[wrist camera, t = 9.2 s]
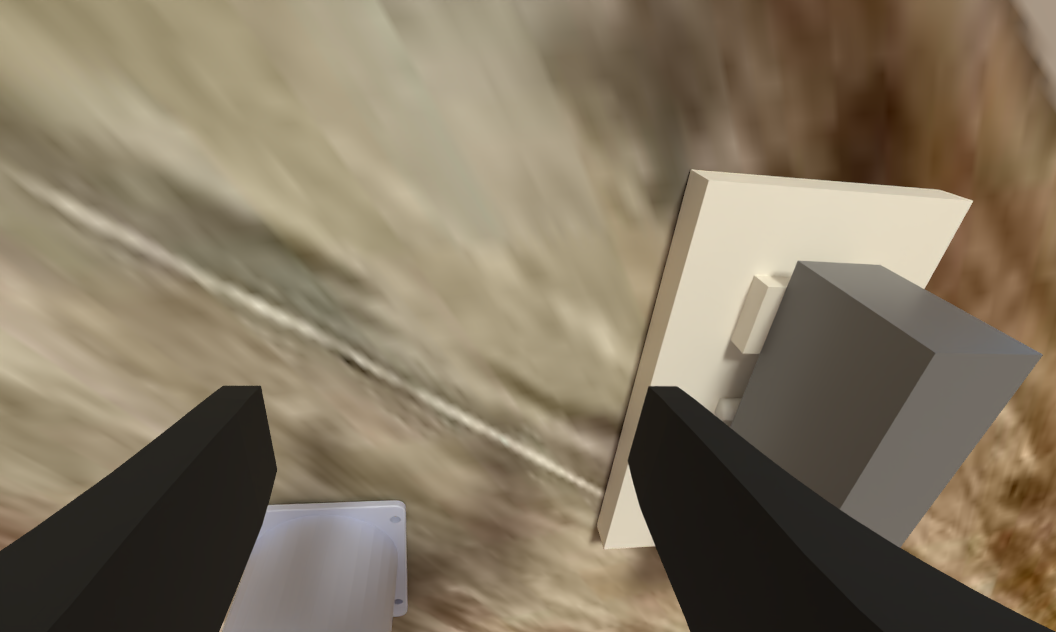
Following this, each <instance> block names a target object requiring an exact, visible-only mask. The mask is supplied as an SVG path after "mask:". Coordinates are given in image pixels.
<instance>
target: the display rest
mask: <svg viewBox="0 0 1056 632" xmlns="http://www.w3.org/2000/svg"><path fill="white" fill-rule="evenodd" d="M972 202H973V201H972V200H969V199H966V198H963V197H960V196H957V195H954V194H951V193H948V192H945V191H942V190H935V189H923V188H911V187H899V186H886V185H874V184H862V183H850V182H837V181H825V180H813V179H801V178H788V177H776V176H764V175H752V174H739V173H727V172H715V171H702V170H691V171H690V175H689V178H688V182H687V186H686V190H685V194H684V197H683V201H682V205H681V209H680V213H679V216H678V220H677V224H676V228H675V231H674V235H673V239H672V243H671V247H670V250H669V254H668V258H667V262H666V265H665V269H664V273H663V277H662V281H661V284H660V288H659V292H658V296H657V300H656V303H655V307H654V311H653V315H652V318H651V322H650V326H649V330H648V334H647V337H646V341H645V345H644V349H643V352H642V356H641V360H640V364H639V368H638V371H637V375H636V379H635V383H634V387H633V390H632V394H631V398H630V402H629V405H628V409H627V413H626V417H625V421H624V424H623V428H622V432H621V436H620V439H619V443H618V447H617V451H616V455H615V458H614V462H613V466H612V470H611V474H610V477H609V481H608V485H607V489H606V492H605V496H604V500H603V504H602V508H601V511H600V515H599V519H598V523H597V528H598V531H599V535H600V538H601V541H602V545H603V548H604V549H616V548H633V547H650V546H655V544H654V541H653V539H652V537H651V534H650V532H649V529H648V527H647V524H646V522H645V519H644V517H643V514H642V512H641V509H640V506H639V502H638V499H637V495H636V492H635V488H634V485H633V481H632V477H631V473H630V469H629V465H628V461H627V460H628V457H629V453H630V450H631V446H632V443H633V439H634V436H635V432H636V429H637V425H638V421H639V418H640V414H641V411H642V407H643V404H644V400H645V397H646V393H647V390H648V386H677V387H679V388H680V389H682V390H683V391H685V392H686V393H687V394H689V395H690V396H691V397H693V398H694V399H695V400H696V401H698V402H699V403H700V404H701V405H703V406H704V407H705V408H706V409H708V410H709V411H710V412H711V413H713V414H714V415H715V416H716V417H718V418H719V419H720V420H721V421H723V422H724V423H725V424H726V425H728V426H729V427H730V426H731V424H732V421H733V419H734V416H735V414H736V411H737V409H738V406H739V404H740V401H741V399H742V397H743V394H744V392H745V389H746V387H747V384H748V382H749V379H750V377H751V374H752V372H753V369H754V367H755V365H756V362H757V360H758V357H759V355H760V352H761V350H762V347H763V345H764V342H765V340H766V337H767V335H768V333H769V330H770V328H771V325H772V323H773V320H774V318H775V315H776V313H777V310H778V308H779V305H780V303H781V301H782V298H783V296H784V293H785V291H786V288H787V286H788V283H789V281H790V278H791V276H792V274H793V271H794V269H795V266H796V264H797V261H816V262H835V263H854V264H873V265H881V266H883V267H885V268H887V269H889V270H891V271H892V272H894V273H896V274H898V275H900V276H901V277H903V278H905V279H907V280H909V281H910V282H912V283H914V284H916V285H918V286H919V287H921V288H923V289H925V287H926V285H927V283H928V281H929V280H930V278H931V276H932V274H933V272H934V271H935V269H936V267H937V265H938V263H939V262H940V260H941V258H942V256H943V254H944V253H945V251H946V249H947V247H948V245H949V244H950V242H951V240H952V238H953V236H954V235H955V233H956V231H957V229H958V227H959V226H960V224H961V222H962V220H963V218H964V217H965V215H966V213H967V211H968V209H969V208H970V206H971V204H972Z"/></svg>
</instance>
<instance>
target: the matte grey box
mask: <svg viewBox="0 0 1056 632" xmlns="http://www.w3.org/2000/svg"><path fill="white" fill-rule="evenodd" d="M1042 356H1043V354H1041V353H1039V352H1037V351H1035V350H1034V349H1032V348H1030V347H1028V346H1026V345H1024V344H1023V343H1021V342H1019V341H1017V340H1015V339H1014V338H1012V337H1010V336H1008V335H1006V334H1005V333H1003V332H1001V331H999V330H997V329H996V328H994V327H992V326H990V325H988V324H986V323H985V322H983V321H981V320H979V319H977V318H976V317H974V316H972V315H970V314H968V313H967V312H965V311H963V310H961V309H959V308H957V307H956V306H954V305H952V304H950V303H948V302H947V301H945V300H943V299H941V298H939V297H938V296H936V295H934V294H932V293H930V292H929V291H927V290H925V289H923V288H921V287H919V286H918V285H916V284H914V283H912V282H910V281H909V280H907V279H905V278H903V277H901V276H900V275H898V274H896V273H894V272H892V271H891V270H889V269H887V268H885V267H883V266H881V265H873V264H854V263H835V262H816V261H797V264H796V266H795V269H794V271H793V274H792V276H791V278H790V281H789V283H788V286H787V288H786V291H785V293H784V296H783V298H782V301H781V303H780V305H779V308H778V310H777V313H776V315H775V318H774V320H773V323H772V325H771V328H770V330H769V333H768V335H767V337H766V340H765V342H764V345H763V347H762V350H761V352H760V355H759V357H758V360H757V362H756V365H755V367H754V369H753V372H752V374H751V377H750V379H749V382H748V384H747V387H746V389H745V392H744V394H743V397H742V399H741V401H740V404H739V406H738V409H737V411H736V414H735V416H734V419H733V421H732V424H731V426H730V428H731V429H733V430H734V431H735V432H736V433H738V434H739V435H740V436H741V437H743V438H744V439H745V440H746V441H748V442H749V443H750V444H751V445H753V446H754V447H755V448H757V449H758V450H759V451H760V452H762V453H763V454H764V455H765V456H767V457H768V458H769V459H771V460H772V461H773V462H775V463H776V464H777V465H779V466H780V467H781V468H783V469H784V470H785V471H787V472H788V473H789V474H791V475H792V476H793V477H795V478H796V479H797V480H799V481H800V482H802V483H803V484H804V485H806V486H807V487H809V488H810V489H811V490H813V491H814V492H816V493H817V494H818V495H820V496H821V497H823V498H824V499H825V500H827V501H828V502H830V503H831V504H833V505H834V506H835V507H837V508H838V509H840V510H841V511H843V512H844V513H846V514H847V515H849V516H850V517H852V518H853V519H855V520H857V521H858V522H860V523H861V524H863V525H865V526H866V527H868V528H869V529H871V530H872V531H874V532H876V533H877V534H879V535H880V536H882V537H883V538H885V539H887V540H888V541H890V542H891V543H893V544H895V545H896V546H898V547H899V548H900V547H901V546H902V544H903V543H904V542H905V540H906V539H907V538H908V536H909V535H910V534H911V532H912V531H913V529H914V528H915V527H916V525H917V524H918V523H919V521H920V520H921V519H922V517H923V516H924V515H925V513H926V512H927V511H928V509H929V508H930V507H931V505H932V504H933V503H934V501H935V500H936V498H937V497H938V496H939V494H940V493H941V492H942V490H943V489H944V488H945V486H946V485H947V484H948V482H949V481H950V480H951V478H952V477H953V476H954V474H955V473H956V472H957V470H958V469H959V467H960V466H961V465H962V463H963V462H964V461H965V459H966V458H967V457H968V455H969V454H970V453H971V451H972V450H973V449H974V447H975V446H976V445H977V443H978V442H979V441H980V439H981V438H982V436H983V435H984V434H985V432H986V431H987V430H988V428H989V427H990V426H991V424H992V423H993V422H994V420H995V419H996V418H997V416H998V415H999V414H1000V412H1001V411H1002V410H1003V408H1004V407H1005V405H1006V404H1007V403H1008V401H1009V400H1010V399H1011V397H1012V396H1013V395H1014V393H1015V392H1016V391H1017V389H1018V388H1019V387H1020V385H1021V384H1022V383H1023V381H1024V380H1025V379H1026V377H1027V376H1028V374H1029V373H1030V372H1031V370H1032V369H1033V368H1034V366H1035V365H1036V364H1037V362H1038V361H1039V360H1040V358H1041V357H1042Z"/></svg>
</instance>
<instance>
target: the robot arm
mask: <svg viewBox="0 0 1056 632" xmlns="http://www.w3.org/2000/svg"><path fill="white" fill-rule="evenodd" d="M627 461H628V465H629V469H630V473H631V477H632V481H633V485H634V488H635V492H636V495H637V499H638V502H639V506H640V509H641V512H642V514H643V517H644V519H645V522H646V524H647V527H648V529H649V532H650V534H651V537H652V539H653V541H654V544H655V546H656V549H657V551H658V554H659V556H660V558H661V561H662V563H663V566H664V568H665V571H666V573H667V575H668V578H669V580H670V583H671V585H672V587H673V590H674V592H675V595H676V597H677V599H678V602H679V604H680V607H681V609H682V612H683V614H684V616H685V619H686V621H687V624H688V627H689V629H690V632H1055V631H1053V630H1051V629H1049V628H1047V627H1045V626H1043V625H1041V624H1039V623H1037V622H1035V621H1033V620H1031V619H1028V618H1026V617H1024V616H1022V615H1020V614H1019V613H1017V612H1015V611H1013V610H1011V609H1009V608H1007V607H1005V606H1003V605H1001V604H999V603H998V602H996V601H994V600H992V599H990V598H988V597H986V596H984V595H982V594H980V593H979V592H977V591H975V590H973V589H971V588H969V587H968V586H966V585H964V584H962V583H961V582H959V581H957V580H955V579H953V578H952V577H950V576H948V575H946V574H944V573H943V572H941V571H939V570H937V569H936V568H934V567H932V566H930V565H928V564H927V563H925V562H923V561H921V560H920V559H918V558H916V557H915V556H913V555H911V554H910V553H908V552H906V551H905V550H903V549H901V548H899V547H898V546H896V545H895V544H893V543H891V542H890V541H888V540H887V539H885V538H883V537H882V536H880V535H879V534H877V533H876V532H874V531H872V530H871V529H869V528H868V527H866V526H865V525H863V524H861V523H860V522H858V521H857V520H855V519H853V518H852V517H850V516H849V515H847V514H846V513H844V512H843V511H841V510H840V509H838V508H837V507H835V506H834V505H833V504H831V503H830V502H828V501H827V500H825V499H824V498H823V497H821V496H820V495H818V494H817V493H816V492H814V491H813V490H811V489H810V488H809V487H807V486H806V485H804V484H803V483H802V482H800V481H799V480H797V479H796V478H795V477H793V476H792V475H791V474H789V473H788V472H787V471H785V470H784V469H783V468H781V467H780V466H779V465H777V464H776V463H775V462H773V461H772V460H771V459H769V458H768V457H767V456H765V455H764V454H763V453H762V452H760V451H759V450H758V449H757V448H755V447H754V446H753V445H751V444H750V443H749V442H748V441H746V440H745V439H744V438H743V437H741V436H740V435H739V434H738V433H736V432H735V431H734V430H733V429H731V428H730V427H729V426H728V425H726V424H725V423H724V422H723V421H721V420H720V419H719V418H718V417H716V416H715V415H714V414H713V413H711V412H710V411H709V410H708V409H706V408H705V407H704V406H703V405H701V404H700V403H699V402H698V401H696V400H695V399H694V398H693V397H691V396H690V395H689V394H687V393H686V392H685V391H683V390H682V389H680V388H679V387H677V386H648V390H647V393H646V397H645V400H644V404H643V407H642V411H641V414H640V418H639V421H638V425H637V429H636V432H635V436H634V439H633V443H632V446H631V450H630V453H629V457H628V460H627ZM276 472H277V466H276V461H275V456H274V451H273V446H272V441H271V435H270V430H269V425H268V420H267V415H266V410H265V405H264V399H263V394H262V389H261V386H222V387H221V388H220V389H218V390H217V391H216V392H214V393H213V394H212V395H210V396H209V397H208V398H206V399H205V400H204V401H203V402H201V403H200V404H199V405H197V406H196V407H195V408H194V409H192V410H191V411H190V412H189V413H187V414H186V415H185V416H184V417H182V418H181V419H180V420H179V421H177V422H176V423H175V424H174V425H172V426H171V427H170V428H169V429H167V430H166V431H165V432H164V433H162V434H161V435H160V436H158V437H157V438H156V439H155V440H153V441H152V442H151V443H149V444H148V445H147V446H145V447H144V448H143V449H142V450H140V451H139V452H138V453H136V454H135V455H134V456H133V457H131V458H130V459H129V460H127V461H126V462H125V463H123V464H122V465H121V466H120V467H118V468H117V469H116V470H114V471H113V472H112V473H110V474H109V475H108V476H106V477H105V478H104V479H102V480H101V481H99V482H98V483H97V484H95V485H94V486H92V487H91V488H90V489H88V490H87V491H85V492H84V493H83V494H81V495H80V496H78V497H77V498H76V499H74V500H73V501H71V502H70V503H69V504H67V505H66V506H64V507H63V508H62V509H60V510H59V511H58V512H56V513H55V514H53V515H52V516H51V517H49V518H48V519H46V520H45V521H44V522H42V523H41V524H39V525H38V526H37V527H35V528H34V529H32V530H31V531H29V532H28V533H26V534H25V535H23V536H22V537H20V538H19V539H18V540H16V541H15V542H13V543H12V544H10V545H9V546H7V547H5V548H4V549H2V550H1V551H0V632H219V631H220V628H221V626H222V623H223V621H224V618H225V616H226V613H227V611H228V609H229V606H230V604H231V601H232V599H233V596H234V594H235V592H236V589H237V587H238V584H239V582H240V579H241V577H242V579H241V582H240V584H239V587H238V590H237V592H236V595H235V598H234V600H233V603H232V606H231V608H230V611H229V614H228V616H227V619H226V622H225V624H224V627H223V630H222V632H391V631H392V621H393V617H398V616H402V615H404V614H406V613H407V609H408V592H407V537H406V505H405V504H404V503H403V502H402V501H399V500H387V501H360V502H334V503H307V504H281V505H268V503H269V500H270V496H271V492H272V488H273V484H274V480H275V476H276ZM395 516H397V517H395ZM244 570H245V571H244ZM243 572H244V574H243ZM242 575H243V576H242Z"/></svg>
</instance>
